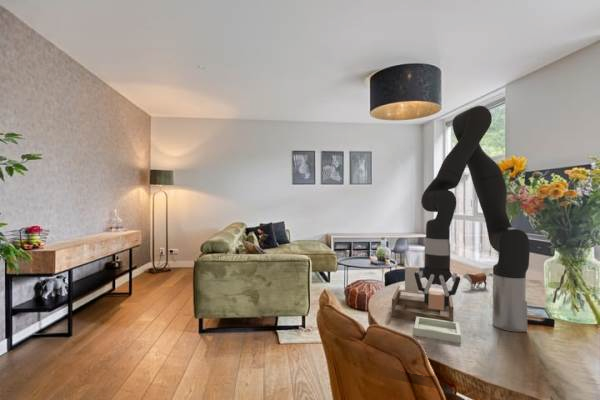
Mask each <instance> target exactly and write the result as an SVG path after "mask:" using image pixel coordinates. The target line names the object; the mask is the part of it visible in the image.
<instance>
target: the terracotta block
mask: <svg viewBox="0 0 600 400" xmlns="http://www.w3.org/2000/svg"><path fill="white" fill-rule="evenodd" d="M428 308H431V309H438V310H444V292H438V291H430V290H429V305H428Z"/></svg>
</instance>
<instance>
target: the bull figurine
mask: <svg viewBox="0 0 600 400" xmlns="http://www.w3.org/2000/svg"><path fill="white" fill-rule="evenodd" d="M462 278H463V279H466V280H467V281H468V282H469V284H470V289H472V290H473V291H475V290H476V288H479V287H480V285H482V284H483V285H484V286H483V289H487V278H488V277H487V274H486V273H484V272H481V273H473V272H468V271H467V272H465V273H463V276H462ZM476 284H477V285H476Z"/></svg>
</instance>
